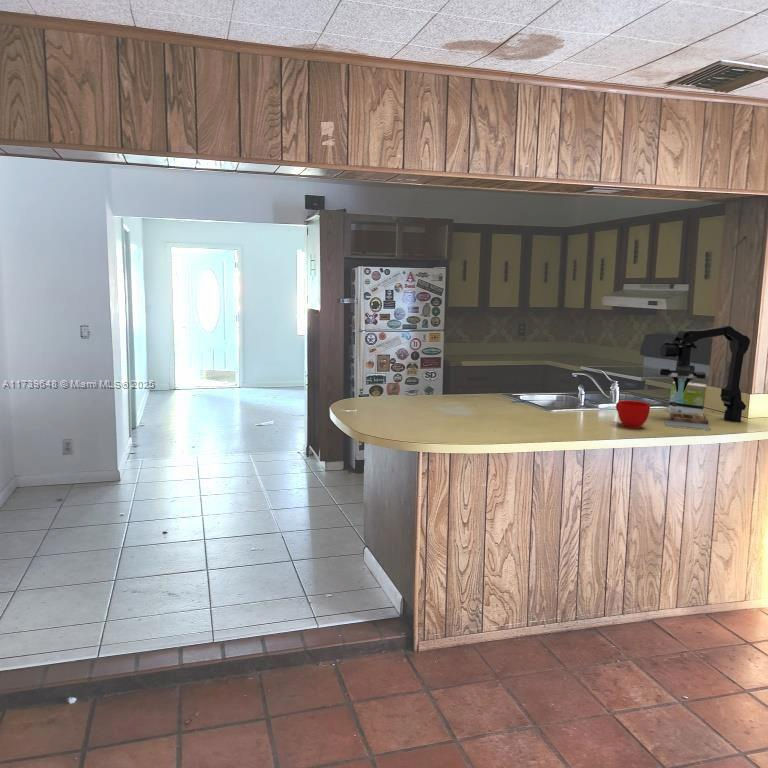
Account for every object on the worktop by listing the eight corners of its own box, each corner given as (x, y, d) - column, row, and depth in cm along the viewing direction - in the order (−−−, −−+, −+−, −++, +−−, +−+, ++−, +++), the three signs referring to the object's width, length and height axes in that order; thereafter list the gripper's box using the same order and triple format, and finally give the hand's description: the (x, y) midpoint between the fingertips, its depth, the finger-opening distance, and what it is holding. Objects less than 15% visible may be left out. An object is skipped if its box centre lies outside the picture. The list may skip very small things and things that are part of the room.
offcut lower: (702, 419, 306) (702, 416, 305) (703, 422, 299) (703, 419, 299) (692, 418, 307) (692, 415, 307) (693, 421, 300) (694, 418, 300)
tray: (704, 420, 307) (705, 416, 307) (707, 425, 296) (708, 421, 296) (669, 416, 312) (670, 412, 312) (671, 421, 301) (671, 417, 301)
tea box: (667, 412, 323) (671, 382, 320) (669, 409, 332) (673, 380, 329) (702, 417, 316) (706, 386, 314) (703, 413, 325) (707, 383, 322)
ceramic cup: (626, 420, 301) (629, 398, 299) (654, 429, 285) (657, 406, 283) (603, 421, 296) (605, 399, 294) (630, 430, 280) (632, 407, 279)
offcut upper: (701, 416, 305) (702, 413, 305) (703, 419, 299) (703, 416, 299) (693, 416, 306) (693, 412, 306) (694, 418, 301) (695, 415, 300)
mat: (708, 426, 294) (708, 424, 294) (710, 431, 285) (711, 429, 285) (664, 422, 300) (664, 420, 300) (665, 426, 291) (665, 424, 291)
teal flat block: (681, 396, 307) (683, 379, 306) (682, 399, 301) (684, 381, 299) (676, 396, 308) (678, 379, 306) (677, 398, 301) (679, 381, 300)
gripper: (662, 358, 297) (658, 392, 299) (708, 361, 291) (704, 397, 293) (661, 355, 307) (657, 389, 310) (706, 358, 301) (701, 393, 304)
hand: (680, 392), depth 304 cm, fingers closed on teal flat block, 2 cm apart
